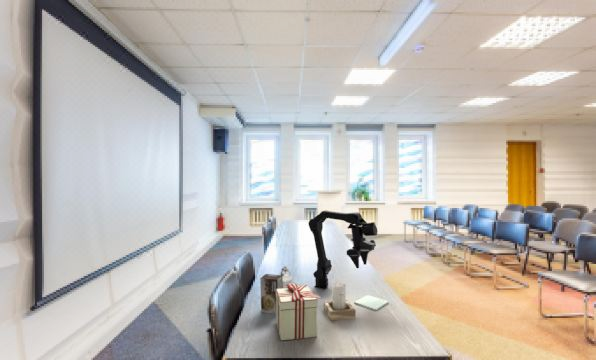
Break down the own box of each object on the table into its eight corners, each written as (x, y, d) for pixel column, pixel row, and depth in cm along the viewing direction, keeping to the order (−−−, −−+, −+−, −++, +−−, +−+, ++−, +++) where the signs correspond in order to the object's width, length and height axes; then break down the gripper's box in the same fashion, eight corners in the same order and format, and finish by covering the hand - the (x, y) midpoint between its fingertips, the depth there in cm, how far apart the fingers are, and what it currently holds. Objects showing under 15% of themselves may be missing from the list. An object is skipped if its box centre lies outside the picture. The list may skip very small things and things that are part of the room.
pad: (354, 303, 143) (354, 301, 143) (367, 296, 151) (367, 294, 151) (375, 311, 135) (375, 309, 135) (388, 303, 143) (388, 301, 143)
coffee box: (283, 308, 139) (283, 275, 139) (278, 314, 133) (277, 279, 133) (266, 306, 142) (265, 273, 142) (260, 311, 136) (259, 277, 136)
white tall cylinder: (331, 311, 135) (330, 283, 135) (343, 310, 136) (342, 282, 136) (336, 319, 127) (335, 289, 127) (349, 318, 128) (348, 288, 128)
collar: (324, 309, 137) (324, 301, 137) (347, 307, 139) (346, 299, 139) (330, 320, 126) (330, 312, 126) (355, 318, 128) (355, 310, 128)
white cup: (277, 294, 156) (277, 276, 156) (291, 293, 157) (291, 275, 157) (277, 300, 148) (277, 281, 148) (292, 299, 149) (292, 280, 149)
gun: (274, 265, 202) (288, 262, 204) (275, 270, 202) (289, 267, 204) (276, 284, 166) (293, 281, 168) (277, 290, 166) (294, 287, 168)
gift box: (327, 335, 114) (326, 291, 114) (281, 343, 109) (280, 298, 109) (312, 316, 130) (312, 278, 131) (272, 322, 125) (272, 282, 125)
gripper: (364, 238, 142) (368, 270, 140) (378, 233, 157) (382, 262, 155) (344, 239, 148) (348, 270, 146) (359, 234, 163) (363, 262, 161)
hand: (361, 266), depth 152 cm, fingers open, 9 cm apart
